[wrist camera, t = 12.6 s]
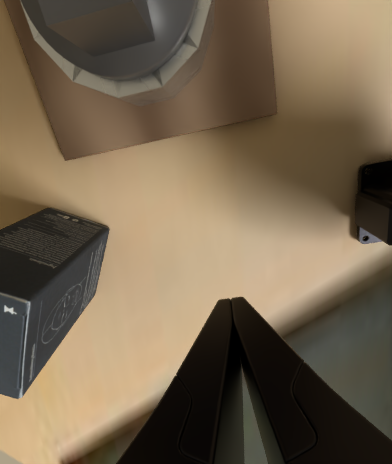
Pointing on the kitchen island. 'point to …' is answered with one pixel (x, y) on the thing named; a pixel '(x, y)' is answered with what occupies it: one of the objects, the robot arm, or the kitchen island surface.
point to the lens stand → (168, 111)
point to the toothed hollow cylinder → (159, 82)
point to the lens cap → (113, 33)
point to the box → (43, 289)
